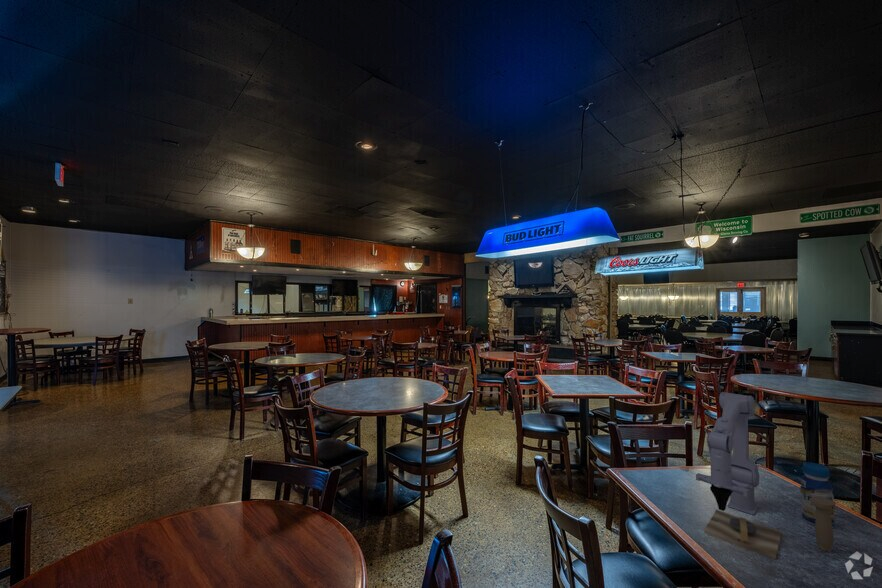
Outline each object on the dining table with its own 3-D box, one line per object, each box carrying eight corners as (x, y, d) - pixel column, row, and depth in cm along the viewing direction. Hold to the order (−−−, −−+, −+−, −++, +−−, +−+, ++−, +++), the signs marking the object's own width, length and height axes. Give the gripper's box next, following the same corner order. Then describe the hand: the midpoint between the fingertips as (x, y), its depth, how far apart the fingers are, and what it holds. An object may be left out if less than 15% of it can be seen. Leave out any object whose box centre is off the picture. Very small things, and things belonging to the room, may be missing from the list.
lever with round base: (729, 518, 129) (729, 510, 129) (755, 525, 125) (755, 516, 125) (730, 536, 119) (730, 526, 119) (758, 544, 115) (758, 534, 115)
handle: (841, 552, 115) (839, 503, 115) (827, 555, 113) (825, 506, 114) (822, 542, 119) (820, 496, 120) (808, 546, 118) (806, 498, 118)
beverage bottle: (833, 522, 131) (831, 465, 131) (836, 532, 125) (833, 473, 125) (800, 513, 136) (798, 458, 137) (801, 523, 130) (799, 466, 131)
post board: (716, 512, 137) (716, 507, 137) (781, 534, 124) (781, 528, 124) (704, 533, 125) (704, 527, 125) (775, 559, 111) (775, 552, 111)
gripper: (691, 463, 128) (692, 503, 127) (743, 479, 116) (744, 523, 115) (700, 459, 132) (701, 497, 131) (750, 474, 120) (752, 516, 119)
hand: (722, 509), depth 124 cm, fingers closed
